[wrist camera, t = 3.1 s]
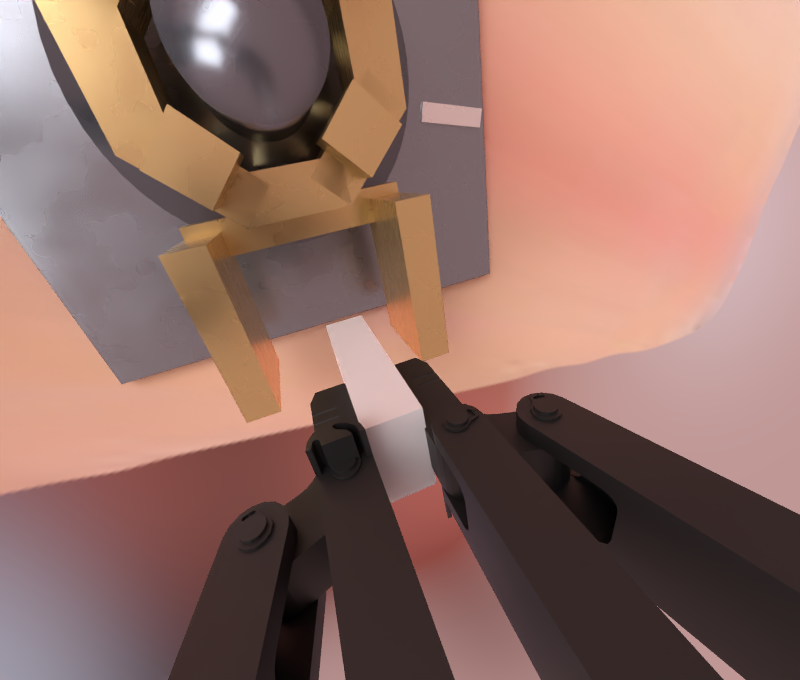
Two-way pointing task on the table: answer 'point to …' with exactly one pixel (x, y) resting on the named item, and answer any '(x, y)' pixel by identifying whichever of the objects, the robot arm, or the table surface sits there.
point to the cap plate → (137, 230)
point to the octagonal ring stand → (263, 181)
